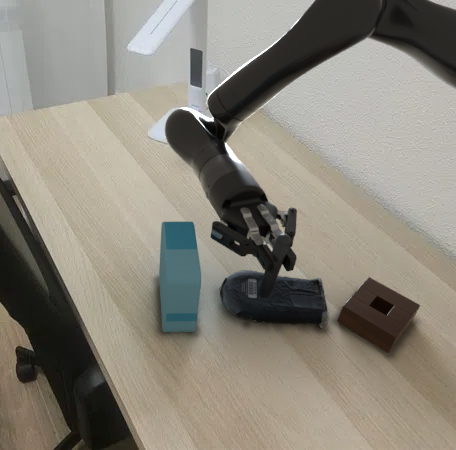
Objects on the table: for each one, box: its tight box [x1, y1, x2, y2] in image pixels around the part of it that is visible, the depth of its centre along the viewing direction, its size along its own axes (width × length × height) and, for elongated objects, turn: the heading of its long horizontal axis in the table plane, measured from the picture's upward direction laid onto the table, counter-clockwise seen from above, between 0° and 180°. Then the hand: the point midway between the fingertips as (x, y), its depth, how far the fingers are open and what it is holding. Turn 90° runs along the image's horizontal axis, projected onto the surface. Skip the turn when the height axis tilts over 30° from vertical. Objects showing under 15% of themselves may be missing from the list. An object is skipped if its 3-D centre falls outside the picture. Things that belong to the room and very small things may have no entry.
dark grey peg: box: [258, 233, 291, 298], centre depth 74 cm, size 2×2×13 cm
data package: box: [158, 221, 202, 333], centre depth 78 cm, size 12×4×12 cm, turn 2°
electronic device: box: [218, 269, 330, 329], centre depth 81 cm, size 9×6×15 cm
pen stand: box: [336, 276, 421, 353], centre depth 80 cm, size 8×8×4 cm
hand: (283, 267), depth 71 cm, fingers closed on dark grey peg, 2 cm apart
